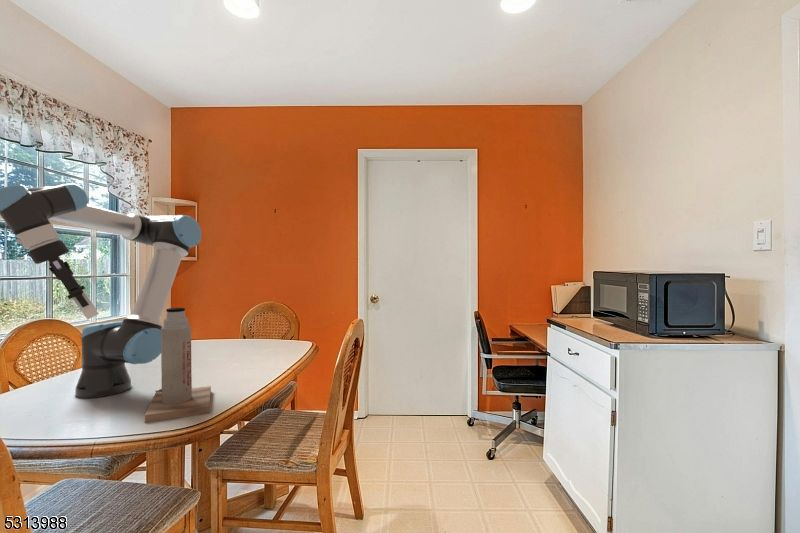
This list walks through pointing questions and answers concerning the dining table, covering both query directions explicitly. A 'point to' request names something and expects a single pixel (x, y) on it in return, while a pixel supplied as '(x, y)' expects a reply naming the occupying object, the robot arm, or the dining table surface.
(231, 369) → the dining table surface
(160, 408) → the walnut board
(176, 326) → the thermos bottle
